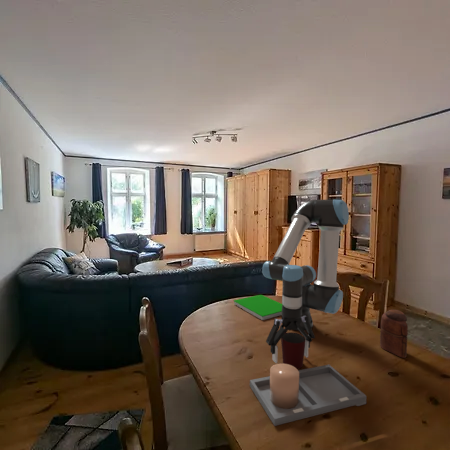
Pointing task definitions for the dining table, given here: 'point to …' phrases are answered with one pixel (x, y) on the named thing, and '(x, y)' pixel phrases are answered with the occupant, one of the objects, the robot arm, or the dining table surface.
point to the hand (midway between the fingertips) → (290, 358)
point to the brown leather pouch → (394, 333)
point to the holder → (311, 395)
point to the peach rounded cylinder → (284, 386)
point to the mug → (293, 349)
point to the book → (260, 306)
